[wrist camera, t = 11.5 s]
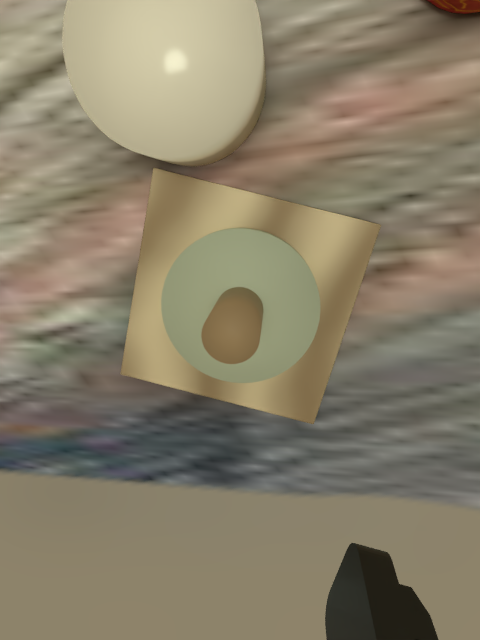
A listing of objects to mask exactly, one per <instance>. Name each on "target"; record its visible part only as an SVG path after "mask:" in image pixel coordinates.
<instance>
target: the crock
mask: <svg viewBox="0 0 480 640" xmlns="http://www.w3.org/2000/svg"><path fill="white" fill-rule="evenodd" d="M63 52H64V59H65V64H66V70H67V73H68V76H69V79H70V83H71V85H72V88H73V90H74V92H75V95H76V97H77V99H78V101H79V102H80V104H81V106H82V108H83V109H84V111H85V112H86V113H87V115H88V116H89V118H90V119H91V120H92V121H93V123H94V124H95V125H96V126H97V127H98V128H99V129H100V130H101V131H102V132H103V133H104V134H106V135H107V136H108V137H109V138H110V139H112V140H113V141H115V142H116V143H118V144H119V145H121V146H123V147H125V148H127V149H129V150H131V151H133V152H137V153H140V154H143V155H146V156H149V157H152V158H156V159H159V160H162V161H165V162H169V163H172V164H175V165H181V166H203V165H207V164H211V163H214V162H216V161H219V160H221V159H223V158H225V157H226V156H228V155H230V154H231V153H232V152H234V151H235V150H236V149H238V148H239V146H240V145H241V144H242V143H243V142H244V141H245V140H246V139H247V138H248V136H249V135H250V134H251V132H252V130H253V129H254V127H255V125H256V123H257V121H258V119H259V116H260V114H261V111H262V107H263V104H264V99H265V93H266V68H265V59H264V49H263V40H262V30H261V23H260V18H259V12H258V8H257V5H256V2H255V0H67V4H66V8H65V14H64V21H63Z"/></svg>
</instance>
